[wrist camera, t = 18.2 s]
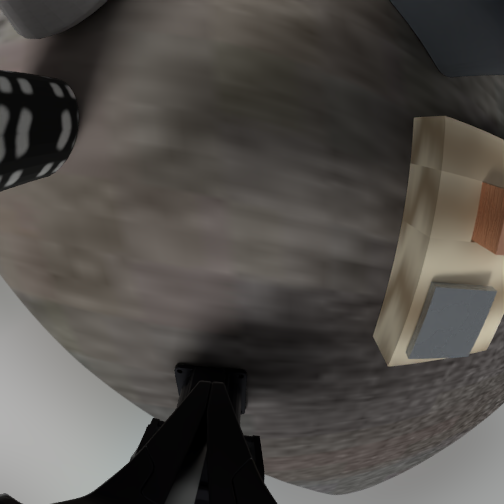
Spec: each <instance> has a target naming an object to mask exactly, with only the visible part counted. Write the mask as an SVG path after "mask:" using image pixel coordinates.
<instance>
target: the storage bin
mask: <svg viewBox="0 0 504 504" xmlns="http://www.w3.org/2000/svg"><path fill="white" fill-rule="evenodd" d="M390 1H391V3H392V4H393V5H394V6H395V7H396V9H397V10H398V11H399V12H400V14H401V15H402V16H403V17H404V19H405V20H406V21H407V23H408V24H409V25H410V27H411V28H412V29H413V31H414V32H415V34H416V35H417V36H418V38H419V39H420V41H421V42H422V44H423V45H424V47H425V48H426V50H427V51H428V53H429V55H430V56H431V58H432V60H433V61H434V63H435V65H436V66H437V68H438V69H439V71H440V72H441V73H442V74H444V75H445V76H448V77H460V76H477V75H504V0H390Z"/></svg>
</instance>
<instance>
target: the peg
mask: <svg viewBox="0 0 504 504" xmlns="http://www.w3.org/2000/svg"><path fill="white" fill-rule="evenodd" d="M471 240H473V241H474V242H476V243H478V244H479V245H481V246H483V247H484V248H486V249H487V250H489V251H490V252H492V253H494V254H495V255H504V189H503V188H499V187H496V186H493V185H490V184H487V183H483V182H482V188H481V194H480V200H479V206H478V212H477V217H476V221H475V226H474V231H473V235H472V239H471Z"/></svg>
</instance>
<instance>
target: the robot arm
mask: <svg viewBox="0 0 504 504" xmlns="http://www.w3.org/2000/svg"><path fill="white" fill-rule="evenodd" d="M179 369H180V370H179ZM175 377H176V382H177V387H178V392H179V400H178V404H177V408H176V410H175V411H174V412H173V413H172V415H171V416H170V417H169V418H168V419H167V420H166V422H164V421H160V419H156V418H153V419H152V421H151V424H150V425H148V427H147V428H146V431H145V433H144V435H143V438H142V440H141V442H140V444H139V447H138V448H137V450H136V451H135V452H134V454H133V455H132V457H131V459H130V462H129V463H128V464H126V465H125V466H124V467H123V468H122V469H121V470H120V471H119V472H117V473H116V474H115V475H113V476H112V477H111V478H110V479H108V480H107V481H106V482H105V483H104V484H102V485H101V486H100V487H98V488H97V489H96V490H95V491H93V492H91V493H90V494H88V495H86V496H83V497H80V498H76V499H72V500H68V501H63V502H58V503H53V504H277V502H276V501H275V500H274V498H273V497H272V495H271V493H270V492H269V490H268V489H267V487H266V486H265V484H264V465H263V458H262V450H261V443H260V436H254V435H253V436H245V435H243V433H242V430H241V428H240V414H244V413H245V401H246V382H247V372H246V371H244V370H238V369H222V368H209V367H198V366H188V365H176V367H175ZM0 504H22V503H20V502H18V501H17V500H15V499H14V498H12V497H11V496H9V495H8V494H6V493H4V494H0Z"/></svg>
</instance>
